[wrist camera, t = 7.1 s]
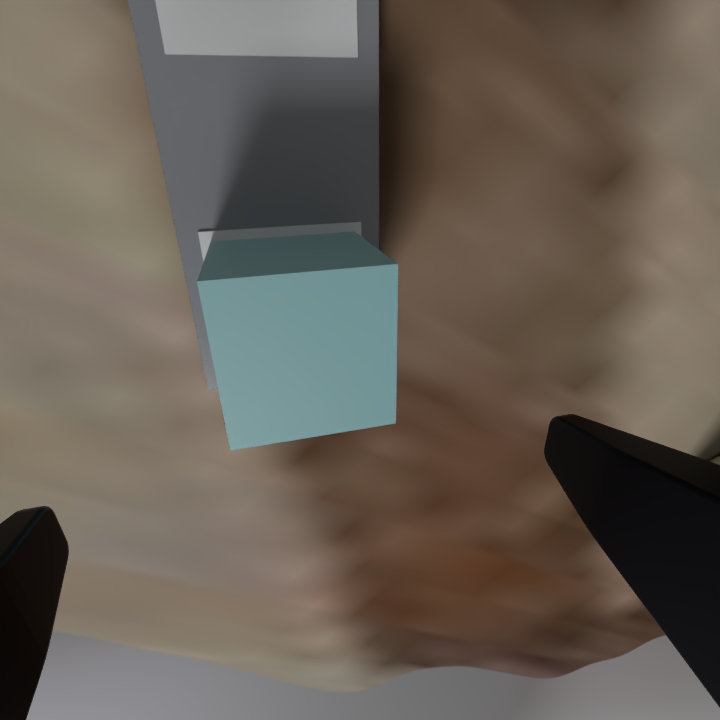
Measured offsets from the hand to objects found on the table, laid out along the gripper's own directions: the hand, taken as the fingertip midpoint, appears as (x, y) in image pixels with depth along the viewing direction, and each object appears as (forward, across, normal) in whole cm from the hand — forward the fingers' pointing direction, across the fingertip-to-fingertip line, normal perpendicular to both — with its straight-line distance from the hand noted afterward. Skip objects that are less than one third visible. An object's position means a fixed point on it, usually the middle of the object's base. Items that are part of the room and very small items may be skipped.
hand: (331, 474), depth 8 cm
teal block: (+10, 0, 0) cm, 10 cm away
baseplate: (+11, 0, -5) cm, 12 cm away
